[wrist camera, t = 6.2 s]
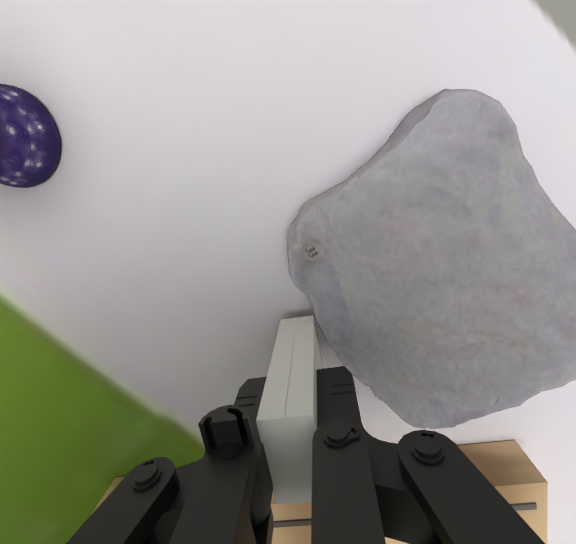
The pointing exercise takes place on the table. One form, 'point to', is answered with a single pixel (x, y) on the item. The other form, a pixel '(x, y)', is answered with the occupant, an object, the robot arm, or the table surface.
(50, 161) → the toy lamp
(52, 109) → the table surface
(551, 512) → the table surface
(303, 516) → the oak board
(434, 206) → the stone block
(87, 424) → the table surface
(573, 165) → the table surface
